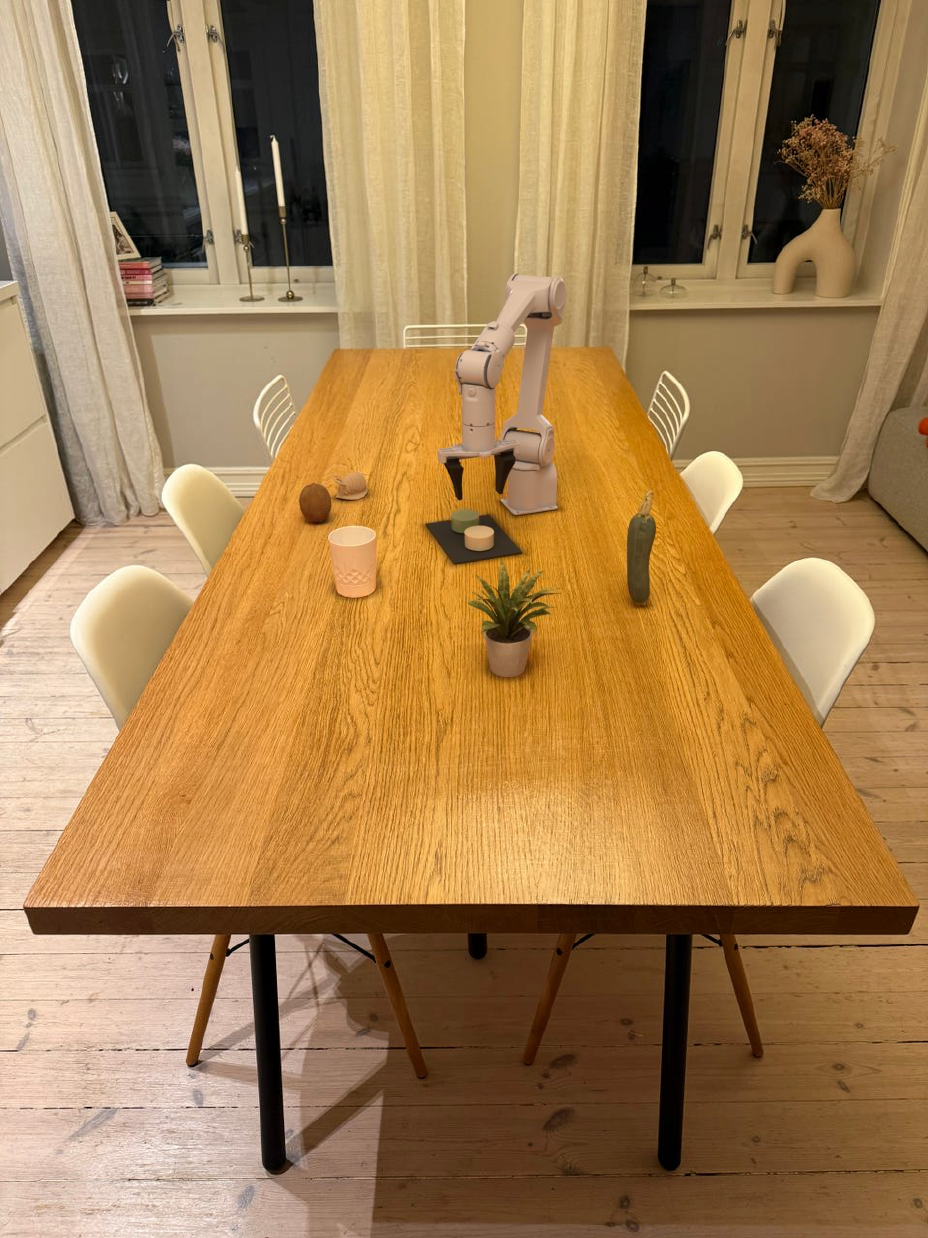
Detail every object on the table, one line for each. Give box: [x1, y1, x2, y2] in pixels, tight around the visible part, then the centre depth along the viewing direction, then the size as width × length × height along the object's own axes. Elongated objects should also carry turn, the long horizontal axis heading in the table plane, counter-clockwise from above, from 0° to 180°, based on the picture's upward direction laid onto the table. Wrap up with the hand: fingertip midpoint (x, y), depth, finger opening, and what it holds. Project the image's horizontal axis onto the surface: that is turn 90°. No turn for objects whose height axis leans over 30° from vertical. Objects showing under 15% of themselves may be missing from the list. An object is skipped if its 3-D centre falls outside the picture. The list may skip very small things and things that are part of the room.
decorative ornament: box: [333, 471, 369, 501], centre depth 197 cm, size 4×8×5 cm, turn 129°
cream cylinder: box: [464, 526, 494, 551], centre depth 176 cm, size 5×5×3 cm
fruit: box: [298, 482, 332, 523], centre depth 186 cm, size 6×6×8 cm
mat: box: [425, 513, 523, 565], centre depth 180 cm, size 13×18×1 cm
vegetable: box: [626, 488, 657, 607], centre depth 152 cm, size 4×4×20 cm
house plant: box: [467, 560, 563, 678], centre depth 136 cm, size 14×14×16 cm
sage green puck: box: [450, 508, 480, 533], centre depth 182 cm, size 5×5×3 cm
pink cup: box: [327, 525, 377, 599], centre depth 161 cm, size 8×8×10 cm
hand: (479, 495), depth 171 cm, fingers open, 7 cm apart
